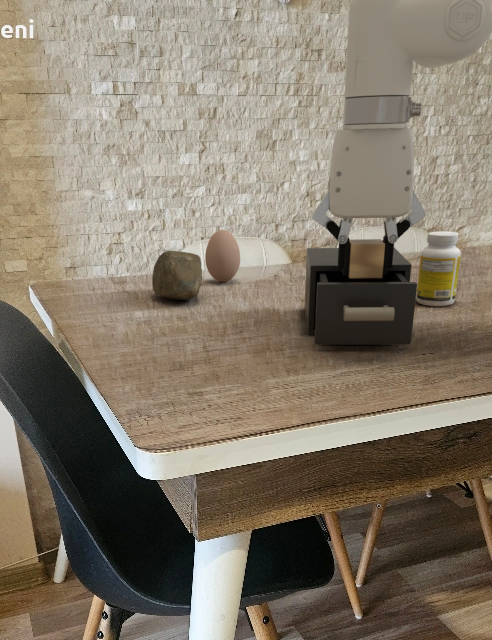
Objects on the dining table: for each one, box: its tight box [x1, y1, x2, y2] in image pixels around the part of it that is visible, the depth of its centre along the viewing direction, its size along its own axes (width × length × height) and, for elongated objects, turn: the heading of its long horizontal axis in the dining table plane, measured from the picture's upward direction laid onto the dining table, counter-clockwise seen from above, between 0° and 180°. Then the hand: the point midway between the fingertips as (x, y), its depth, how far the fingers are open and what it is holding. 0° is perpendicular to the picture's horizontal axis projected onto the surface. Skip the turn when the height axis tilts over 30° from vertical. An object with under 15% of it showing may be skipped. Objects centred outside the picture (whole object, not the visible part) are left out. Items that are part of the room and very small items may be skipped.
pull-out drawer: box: [314, 271, 418, 346], centre depth 90 cm, size 19×12×8 cm, turn 175°
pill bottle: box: [416, 230, 462, 307], centre depth 109 cm, size 6×6×11 cm
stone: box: [151, 250, 203, 301], centre depth 117 cm, size 17×9×8 cm, turn 20°
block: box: [348, 238, 385, 278], centre depth 86 cm, size 4×4×4 cm
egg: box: [204, 229, 241, 283], centre depth 129 cm, size 7×7×10 cm
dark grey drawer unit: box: [304, 247, 413, 336], centre depth 99 cm, size 16×14×10 cm
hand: (363, 272), depth 87 cm, fingers closed on block, 4 cm apart
